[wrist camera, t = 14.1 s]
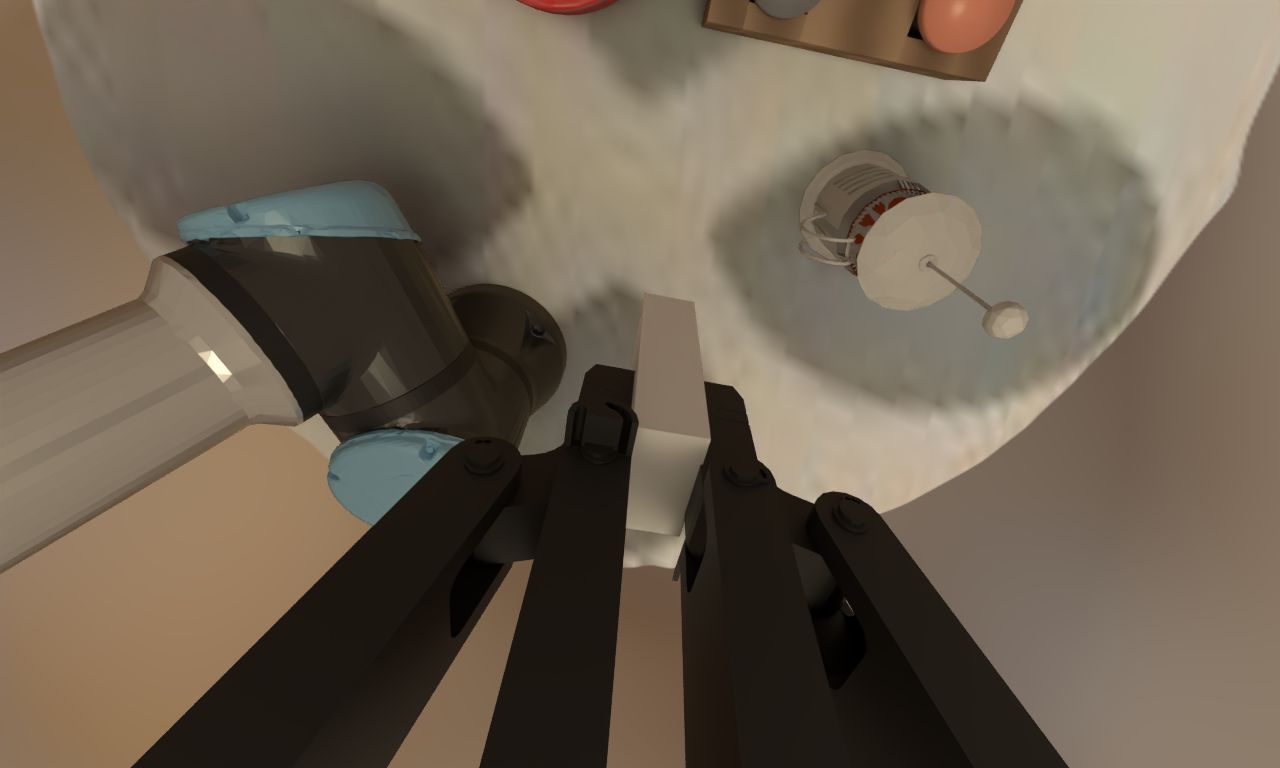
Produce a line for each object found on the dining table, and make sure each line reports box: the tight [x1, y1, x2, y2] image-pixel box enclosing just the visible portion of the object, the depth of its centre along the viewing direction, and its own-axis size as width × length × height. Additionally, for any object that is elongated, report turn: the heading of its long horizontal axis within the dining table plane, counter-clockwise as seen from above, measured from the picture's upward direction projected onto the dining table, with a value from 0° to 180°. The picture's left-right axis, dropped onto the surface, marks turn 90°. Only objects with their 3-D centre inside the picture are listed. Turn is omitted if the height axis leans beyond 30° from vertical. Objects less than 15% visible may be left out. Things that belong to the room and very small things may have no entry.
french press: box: [799, 150, 1029, 339], centre depth 36 cm, size 10×12×25 cm
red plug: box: [907, 0, 1015, 53], centre depth 34 cm, size 5×5×7 cm
